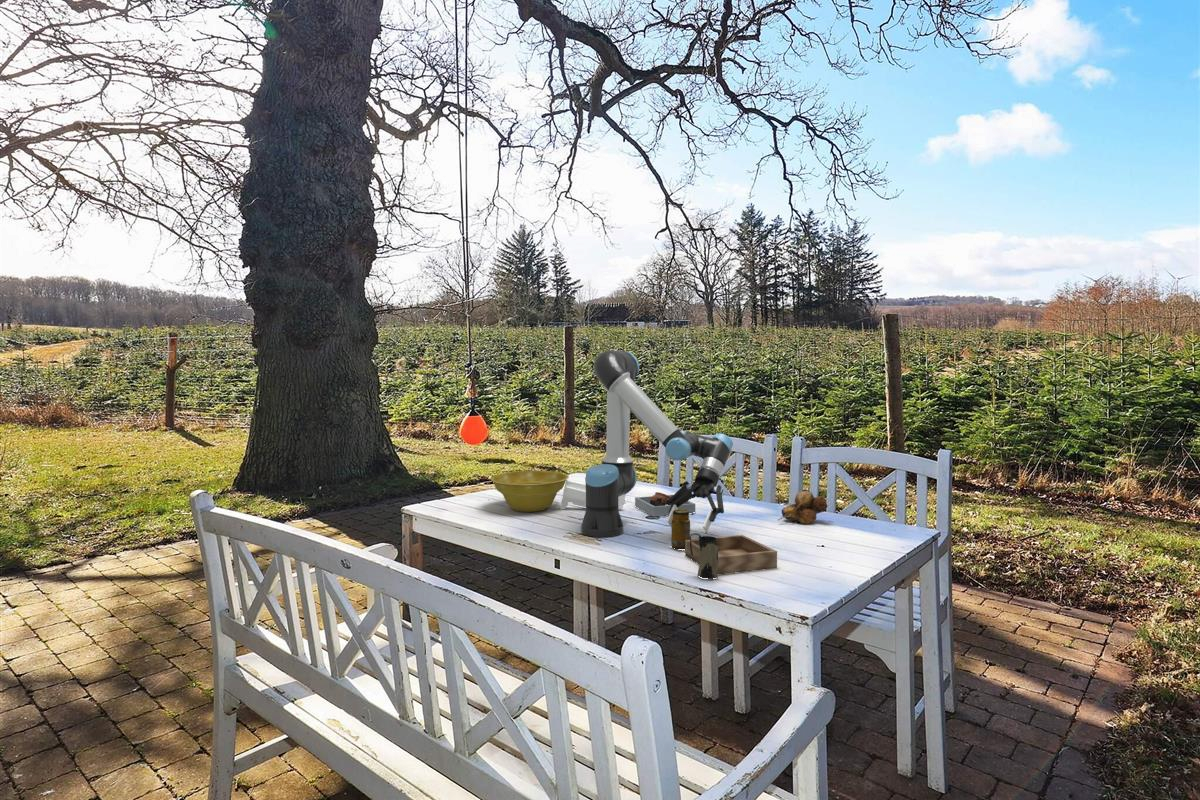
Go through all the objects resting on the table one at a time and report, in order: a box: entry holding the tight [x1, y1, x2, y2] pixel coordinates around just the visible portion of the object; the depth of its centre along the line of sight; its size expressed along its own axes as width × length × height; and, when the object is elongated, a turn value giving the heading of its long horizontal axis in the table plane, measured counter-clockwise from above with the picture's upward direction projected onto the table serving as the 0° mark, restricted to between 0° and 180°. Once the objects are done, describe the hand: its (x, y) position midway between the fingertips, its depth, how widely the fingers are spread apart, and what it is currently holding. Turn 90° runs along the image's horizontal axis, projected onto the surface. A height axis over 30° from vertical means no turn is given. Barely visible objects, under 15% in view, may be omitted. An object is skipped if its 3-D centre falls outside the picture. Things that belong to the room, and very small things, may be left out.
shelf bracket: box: [560, 479, 626, 510], centre depth 277 cm, size 6×25×13 cm, turn 84°
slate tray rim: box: [634, 494, 696, 517], centre depth 275 cm, size 18×20×4 cm
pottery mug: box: [650, 492, 671, 506], centre depth 275 cm, size 12×10×8 cm
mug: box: [690, 532, 719, 579], centre depth 190 cm, size 8×6×12 cm
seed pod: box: [777, 490, 828, 525], centre depth 253 cm, size 13×16×15 cm
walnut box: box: [684, 534, 778, 575], centre depth 204 cm, size 20×20×5 cm
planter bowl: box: [490, 469, 570, 513], centre depth 280 cm, size 32×32×13 cm
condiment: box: [666, 510, 691, 553], centre depth 219 cm, size 7×8×12 cm
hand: (686, 526), depth 219 cm, fingers open, 13 cm apart
